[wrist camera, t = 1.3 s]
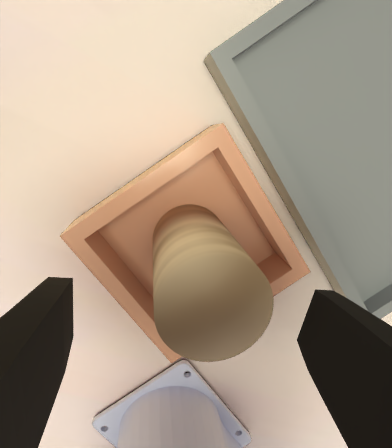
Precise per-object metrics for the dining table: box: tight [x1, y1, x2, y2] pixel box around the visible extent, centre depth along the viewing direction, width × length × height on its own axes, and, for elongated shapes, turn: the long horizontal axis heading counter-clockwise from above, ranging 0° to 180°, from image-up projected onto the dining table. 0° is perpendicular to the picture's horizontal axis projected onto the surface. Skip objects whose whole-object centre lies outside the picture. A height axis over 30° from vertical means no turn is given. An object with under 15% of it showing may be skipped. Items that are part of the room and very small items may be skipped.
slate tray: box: [204, 0, 392, 319], centre depth 18 cm, size 20×14×2 cm
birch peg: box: [153, 204, 273, 362], centre depth 15 cm, size 4×4×8 cm
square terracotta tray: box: [60, 123, 310, 363], centre depth 18 cm, size 10×10×3 cm
